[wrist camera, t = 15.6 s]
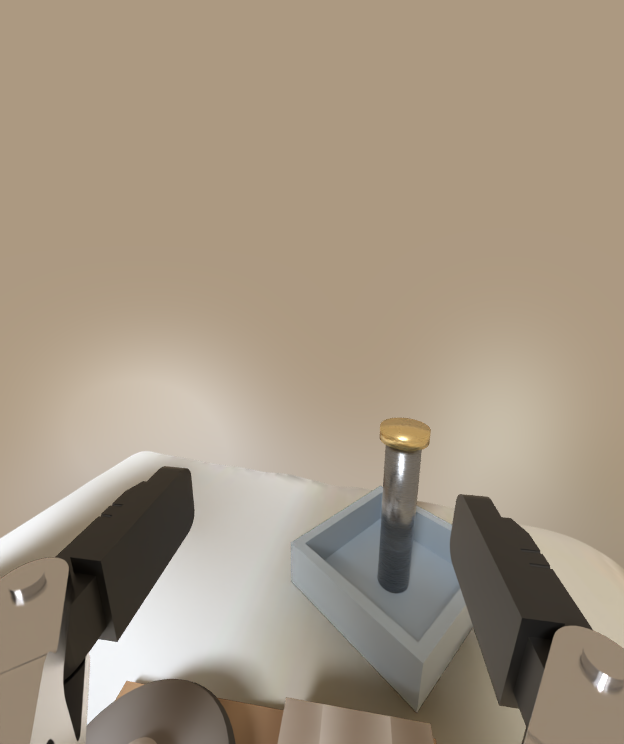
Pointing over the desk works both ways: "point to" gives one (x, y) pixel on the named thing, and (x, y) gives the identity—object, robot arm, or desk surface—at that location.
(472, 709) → the desk surface
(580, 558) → the desk surface
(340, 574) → the pin tray
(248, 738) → the board
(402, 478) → the lock pin
